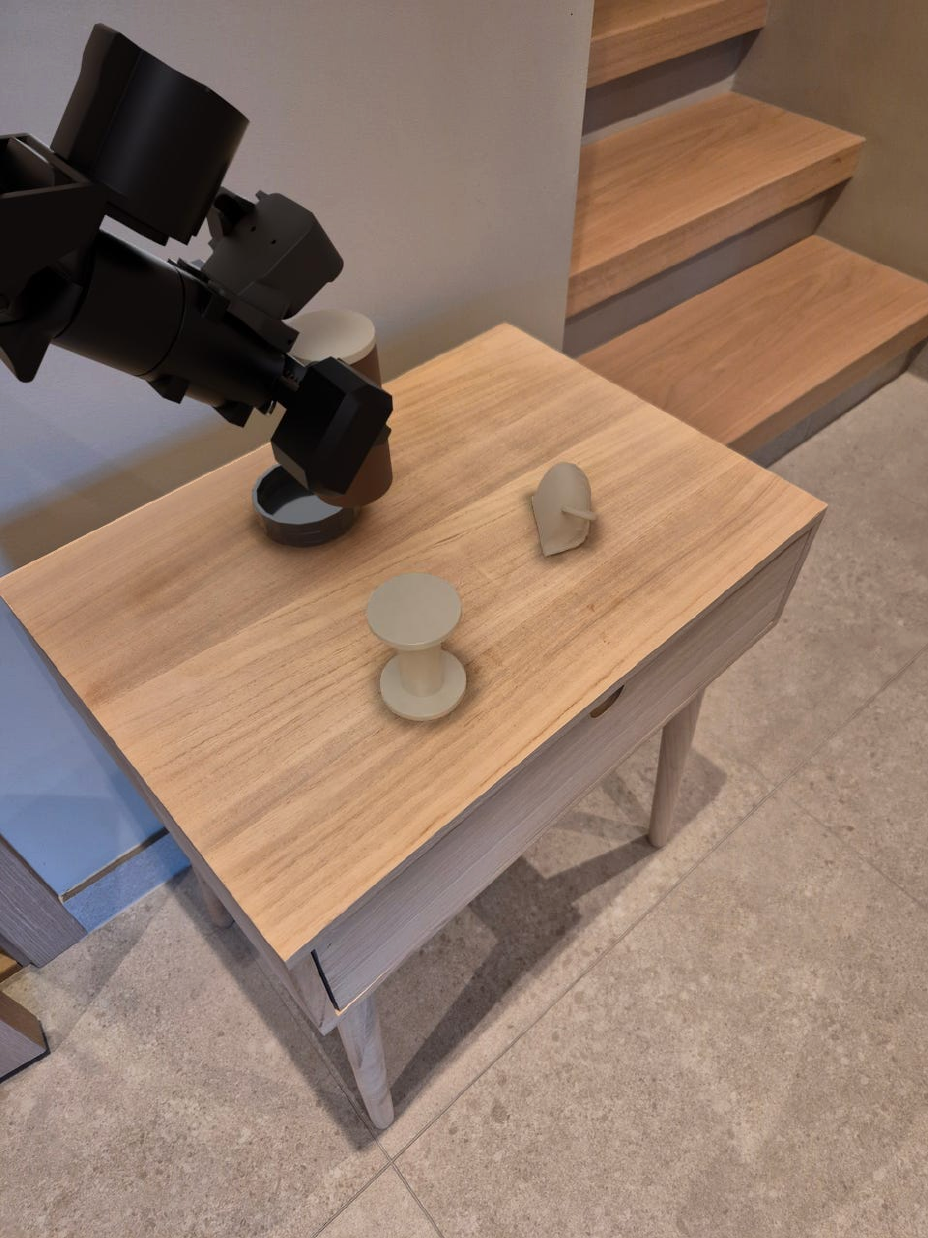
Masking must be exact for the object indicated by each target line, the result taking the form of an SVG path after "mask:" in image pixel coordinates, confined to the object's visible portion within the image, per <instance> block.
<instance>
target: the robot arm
mask: <svg viewBox="0 0 928 1238" xmlns="http://www.w3.org/2000/svg"><path fill="white" fill-rule="evenodd" d="M251 122H252V121H250V120H249V118H248V117H247V116H246V115H245V114H244V113H243V112H241V111H240V110H239V109H238V108H236V106H234V105H233V104H232V103H230V102H229V101H228V100H227V99H225V98H224V97H222V95H220V94H219V93H217V92H216V91H215V90H213V89H212V88H210V87H209V86H207V85H206V84H204V83H202V82H200V81H198V80H197V79H194V78H192V77H190V76H188V75H187V74H185V73H183V72H180V71H178V70H177V69H175V68H173V67H172V66H170V65H169V64H167V63H166V62H165V61H163V60H161V59H160V58H158V57H156V56H154V55H153V54H152V53H150V52H148V51H147V50H145V48H142V47H141V46H140V45H138V44H137V43H135V42H134V41H133V40H131V39H130V38H129V37H127V36H126V35H125V34H123V33H122V32H121V31H118V30H116V29H114V28H112V27H110V26H108V25H107V24H104V23H102V22H99V23H94V25H93V27H92V29H91V31H90V34H89V36H88V39H87V41H86V44H85V47H84V49H83V53H82V59H81V64H80V71H79V74H78V77H77V80H76V83H75V85H74V87H73V90H72V92H71V93H70V97H69V99H68V101H67V104H66V107H65V109H64V111H63V114H62V117H61V119H60V121H59V123H58V126H57V129H56V131H55V133H54V136H53V138H52V140H51V143H50V145H48V144H46V143H44V142H43V141H42V140H40V139H39V138H38V137H36V136H35V135H34V134H32V133H30V132H17V133H10V134H0V361H1V362H2V363H3V364H4V365H5V366H6V368H7V369H8V370H9V371H10V373H12V375H13V376H14V377H15V378H16V379H17V381H19V382H20V383H22V384H29V383H32V382H33V381H35V379H36V376H37V374H38V372H39V370H40V367H41V365H42V363H43V360H44V358H45V356H46V354H47V351H48V348H49V346H50V345H52V346H55V347H57V348H60V349H63V350H65V351H68V352H70V353H73V354H75V355H78V356H81V357H84V358H86V359H88V360H91V361H94V362H96V363H99V364H101V365H104V366H107V367H109V368H113V369H114V370H117V371H119V372H122V373H125V374H127V375H130V376H133V377H135V378H137V379H139V380H143V381H144V382H146V383H147V384H148V385H149V386H150V387H151V388H152V389H153V390H154V391H155V392H156V394H158V395H159V396H160V397H161V398H162V399H165V400H167V401H169V402H172V403H175V404H178V405H181V403H182V401H183V399H184V398H185V397H187V398H188V399H189V398H190V399H192V400H194V401H197V402H200V403H202V404H205V405H208V406H210V407H211V408H212V409H213V410H214V411H215V412H216V413H218V414H219V415H220V416H221V417H222V418H223V419H224V420H225V421H226V422H227V423H228V424H230V425H231V424H232V425H234V426H237V427H238V428H239V427H240V428H242V429H244V428H245V426H246V424H247V423H248V420H249V418H250V417H251V415H252V413H253V411H254V409H256V410H257V411H258V412H259V413H260V414H262V415H263V416H265V417H267V418H268V417H271V416H272V414H273V413H274V411H275V409H276V408H277V404H279V405H281V406H282V407H283V408H284V409H285V411H284V413H283V415H282V416H281V419H280V421H279V423H278V424H277V427H276V428H275V430H274V432H273V434H272V436H271V437H270V439H269V441H270V446H271V450H272V454H273V457H274V460H275V462H277V464H278V463H279V464H280V465H281V466H282V467H284V468H285V469H286V470H287V471H288V472H289V473H290V474H291V475H292V476H293V477H295V478H296V479H297V480H298V481H299V482H300V483H301V484H302V485H303V486H304V487H305V488H307V489H308V490H309V491H312V492H315V493H318V494H321V495H324V496H327V497H330V498H333V499H334V498H337V497H340V496H343V495H345V494H346V492H347V490H348V489H349V487H350V485H351V483H352V482H353V480H354V478H355V476H356V475H357V473H358V471H359V469H360V468H361V466H362V464H363V462H364V461H365V459H366V457H367V455H368V454H369V452H370V450H371V448H373V447H377V446H380V445H383V444H385V442H386V441H387V439H388V440H389V437H390V435H391V434H392V428H391V427H390V426H388V425H387V422H388V421H389V419H390V417H391V415H392V414H393V412H394V401H393V395H392V394H390V392H388V391H387V390H385V389H384V388H383V387H382V388H381V387H380V386H378V385H377V384H376V383H374V382H373V381H372V380H370V379H369V378H367V377H366V376H365V375H363V374H362V373H360V372H358V371H357V370H355V369H354V368H353V367H351V366H350V365H349V364H347V363H346V362H344V361H343V360H342V359H340V358H339V357H338V358H337V359H336V358H334V357H332V356H330V357H328V358H325V359H323V360H321V361H317V360H313V361H311V362H309V363H308V364H307V365H306V366H305V365H303V364H302V363H301V362H299V361H298V360H297V359H296V358H294V357H293V356H292V355H290V354H289V352H290V351H291V349H292V347H293V345H294V343H295V341H296V339H297V337H298V335H299V333H300V332H299V331H297V330H296V329H295V328H293V327H292V326H291V325H289V324H288V323H287V322H285V321H287V320H289V319H292V318H294V317H295V316H296V315H298V314H299V313H300V312H301V311H302V310H303V309H304V307H306V306H307V304H308V303H309V302H310V301H311V300H312V299H314V297H316V295H317V294H319V292H320V291H321V290H322V289H323V288H324V287H325V286H326V285H327V284H328V283H333V282H335V280H336V279H337V278H338V277H339V276H340V275H341V273H342V271H343V270H344V267H345V261H344V259H343V257H342V255H341V254H340V252H339V251H338V249H337V248H336V247H335V245H334V243H333V242H332V240H331V238H330V237H329V236H328V234H327V232H326V231H325V229H324V228H323V226H322V224H321V223H320V221H319V220H318V218H317V217H316V215H315V214H314V213H313V212H312V211H311V210H310V209H308V208H306V207H305V206H303V205H301V204H300V203H297V202H296V201H294V200H293V199H291V198H289V197H287V196H286V195H284V194H282V193H280V192H272V193H269V194H268V193H267V192H265V191H263V190H262V189H259V190H258V191H257V192H256V193H255V194H254V195H255V197H256V199H257V200H258V201H253V200H251V199H249V198H248V197H246V196H244V195H242V194H240V193H238V192H236V191H233V190H231V189H230V188H228V187H226V186H223V185H222V184H223V183H224V180H225V178H226V175H227V174H228V172H229V170H230V168H231V166H232V163H233V161H234V160H235V157H236V155H237V153H238V151H239V149H240V147H241V145H242V142H243V141H244V138H245V136H246V134H247V132H248V129H249V127H250V126H251ZM105 216H106V217H109V218H111V219H112V220H114V221H115V222H118V223H119V224H121V225H123V226H124V227H126V228H128V229H130V230H132V231H133V232H135V233H136V234H138V235H140V236H142V237H144V238H145V239H148V240H150V241H151V242H153V243H155V244H157V245H160V246H162V247H167V244H168V242H169V240H170V238H171V239H173V240H175V241H177V242H179V243H180V244H183V245H185V246H189V244H190V241H191V239H192V237H194V238H197V237H198V235H199V233H200V231H201V229H202V226H203V224H204V223H205V220H206V222H207V223H206V224H207V227H208V231H209V232H208V233H209V235H210V237H211V239H210V240H209V241H208V242H207V245H208V246H209V247H210V248H211V250H212V253H211V255H210V256H209V257H208V258H207V260H206V261H204V260H203V259H201V258H198V259H194V260H192V261H190V262H189V261H188V260H186V259H184V258H183V257H178V258H177V260H176V261H175V260H173V259H171V258H170V257H169V258H168V259H167V261H165V260H163V259H161V258H159V257H158V256H156V255H154V254H152V253H150V252H149V251H146V250H144V249H143V248H140V247H139V246H137V245H135V244H133V243H131V242H129V241H128V240H126V239H124V238H122V237H120V236H118V235H116V234H115V233H112V232H111V231H109V230H107V229H106V228H103V227H101V226H102V223H103V221H104V219H105ZM287 376H288V377H287ZM288 378H290V379H292V381H294V382H296V384H297V385H299V387H297V386H296V385H294V384H293V383H292V382H291V381H289V380H288Z"/></svg>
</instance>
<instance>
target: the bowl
mask: <svg viewBox="0 0 928 1238" xmlns="http://www.w3.org/2000/svg"><path fill="white" fill-rule="evenodd" d="M251 496H252V500H251V501H252V506H253V510H254V513H255V516H256V519H257V522H258V524H259V526H260V528H261V530H262V532H263V534H265V535H266V537H268V538H269V539H270V540H272V541H274V542H276V543H278V544H280V545H283V546H287V547H291V548H310V547H318V546H321V545H325V544H329V543H330V542H333V541H336V540H338V538H340V537H342V536H344V535H345V534H346V533H347V532H348V531H350V530H351V529H352V528H353V526H354V525H355V524H356V522H357V521H358V518H359V515H360V512H361V506H359V507H350V508H345V507H336V506H332V505H329V504H327V503H325V502H323V501H321V500H320V499H319V498H318V497H317V496H316V495H315V493H314V492H312V491H309V490H308V489H307V488H305V487H304V486H303V485H302V484H301V483H300V482H299V481H298V480H297V479H296V478H295V477H293V476H292V475H291V474H290V473H289V472H288V471H287V470H286V469H285V468H284V467H282V466H281V465H280V464H279V463H278V462H277V463H276V464H273V465H272V466H270V467H269V468H268V469H267V470H266V471H264V472H263V473H262V474H261V475H260V476H259V477H258V478H257V480H256V482H255V484H254V485H253V488H252V490H251Z"/></svg>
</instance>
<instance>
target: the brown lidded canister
mask: <svg viewBox="0 0 928 1238" xmlns="http://www.w3.org/2000/svg"><path fill="white" fill-rule="evenodd" d="M287 324H289V325H291V326H292V327H293V328H295V329H296V330H297V331H299V332H300V333H299V335H298V337H297V339H296V341H295V343H294V345H293V347H292V349H291V351H290V352H289V354H290V355H292V356H293V357H294V358H296V359H297V360H298V361H299V362H301V363H302V364H303V365H305V366H306V365H307V364H308V363H309V362H311V361H313V360H317V361H321V360H323V359H325V358H328V357H330V356H332V357H334V358H336V359H337V358H338V357H339V358H340V359H342V360H343V361H344V362H346V363H347V364H349V365H350V366H351V367H353V368H354V369H355V370H357V371H358V372H360V373H362V374H363V375H365V376H366V377H367V378H369V379H370V380H372V381H373V382H374V383H376V384H377V385H378V386H380V387H381V388H382V389H383V386H382V378H381V370H380V363H379V362H380V361H379V355H378V346H377V332H376V327H375V325H374V323H373V321H372V320H371V319H370V318H369V317H368V316H367V315H364V314H362V313H360V312H357V311H354V310H351V309H343V308H328V309H327V308H326V309H319V310H314V311H310V312H307V313H303V314H302V315H299V316H297V317H296V318H293V319H292V320H291V321H289V322H288V323H287ZM287 377H288V376H287ZM288 380H289V381H291V382H292V383H293V384H294V385H296V386H297V387H299V385H297V384H296V382H294V381H292V379H290V378H288ZM393 473H394V472H393V467H392V459H391V450H390V443H389V438H388V439H387V441H386V442H385V444H383V445H380V446H377V447H373V448H371V450H370V452H369V454H368V455H367V457H366V459H365V461H364V462H363V464H362V466H361V468H360V469H359V471H358V473H357V475H356V476H355V478H354V480H353V482H352V483H351V485H350V487H349V489H348V490H347V492H346V494H345V495H343V496H340V497H337V498H334V499H333V498H330V497H327V496H324V495H321V494H318V493H315V492H314V493H315V495H316V496H317V497H318V498H319V499H320V500H321V501H323V502H325V503H327V504H329V505H332V506H336V507H345V508H350V507H359V506H360V507H363V506H366V505H369V504H371V503H374V502H376V501H378V500H379V499H381V498H382V497H383V496H385V495H386V494H387V493H388V491H389V490H390V488H391V487H392V484H393V481H394V475H393Z"/></svg>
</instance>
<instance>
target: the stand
mask: <svg viewBox="0 0 928 1238" xmlns="http://www.w3.org/2000/svg"><path fill="white" fill-rule="evenodd" d="M365 617H366V622H367V625H368V628H369V630H370V632H371V633H372V635H373V636H374V637H375V638H376V639H377V640H378V641H379V642H381V643H382V644H384V645H386V646H388V647H390V648H393V649H396V652H397V654H396V655H395V656H394V657H392V658H391V659H390V660H389V661H388V662H387V664H386V665H385V666H384V668H383V669H382V672H381V675H380V678H379V690H380V695H381V698H382V700H383V703H384V704H385V705H386V707H387V708H388V709H389V710H390V711H391V712H393V713H394V714H395V715H397V716H398V717H401V718H403V719H405V720H409V721H414V722H429V721H433V720H437V719H440V718H442V717H443V718H444V717H445V716H447V715H448V714H450V713H451V712H453V711H454V710H456V708H457V707H458V706H459V705H460V704H461V702H462V700H463V699H464V697H465V694H466V691H467V674H466V670H465V668H464V666H463V664H462V663H461V661H460V660H459V659H458V658H457V657H456V656H455V655H453V654H452V653H451V652H449V651H447V650H445V649H442V643H443V642H445V641H447V640H448V639H449V638H451V636H452V635H454V633H455V632H456V631H457V629H458V628H459V626H460V624H461V621H462V618H463V601H462V598H461V595H460V593H459V592H458V590H457V589H456V587H455V586H454V585H453V584H451V583H450V582H449V581H447V580H446V579H445V578H442V577H440V576H438V575H435V574H432V573H428V572H427V573H426V572H408V573H403V574H399V575H396V576H393V577H391V578H389V579H387V580H385V581H384V582H382V583H381V584H380V585H378V586H377V587H376V588H375V589H374V591H373V592H372V593H371V594H370V596H369V598H368V600H367V603H366V607H365Z"/></svg>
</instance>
